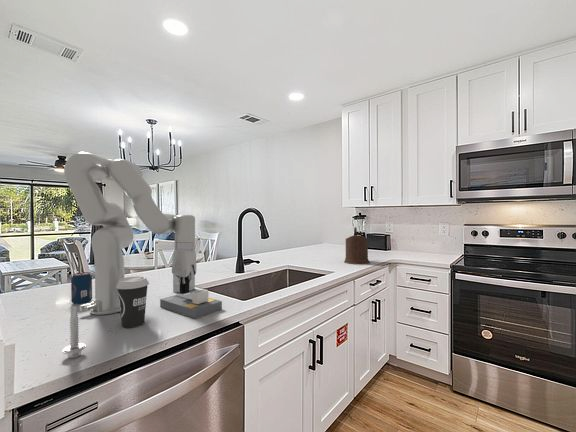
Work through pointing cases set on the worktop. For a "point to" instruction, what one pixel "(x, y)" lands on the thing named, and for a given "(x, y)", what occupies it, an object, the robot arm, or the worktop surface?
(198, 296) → the fader knob
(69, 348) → the screw
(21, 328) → the worktop surface
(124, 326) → the coffee cup
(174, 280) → the supplement box
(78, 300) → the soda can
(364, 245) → the dark brown bell
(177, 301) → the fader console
